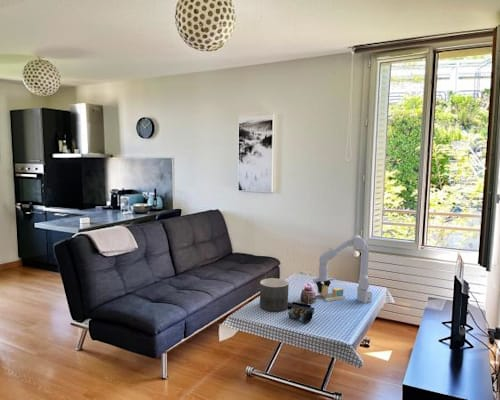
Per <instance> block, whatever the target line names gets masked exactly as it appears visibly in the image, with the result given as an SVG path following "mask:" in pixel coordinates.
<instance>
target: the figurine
mask: <svg viewBox="0 0 500 400" xmlns="http://www.w3.org/2000/svg"><path fill="white" fill-rule="evenodd" d="M287 315H288V318H289V319H293V320H300V321H302V323H303V324H305V325H307V324H308V323H310V322H311V320H312V319H313V316H314V313H313V310H312V309H311V308H310V309H309V308H308V309H307V308H305V307H303V306H302V307H301V308H300V307H298V308H297V307H292V308H290V310H289V311H288V313H287Z"/></svg>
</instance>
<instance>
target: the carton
mask: <svg viewBox="0 0 500 400" xmlns="http://www.w3.org/2000/svg"><path fill="white" fill-rule="evenodd" d="M322 284H323V285H322V291H321V293H320V292H319V291H318V290H317V294H318V295H322V296H325V295H328V294H329V287H328V286H326V285H324V283H322Z"/></svg>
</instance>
